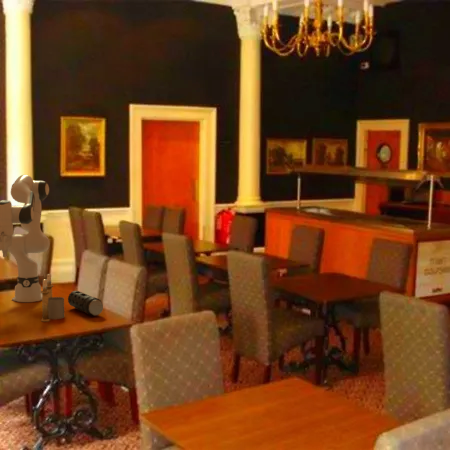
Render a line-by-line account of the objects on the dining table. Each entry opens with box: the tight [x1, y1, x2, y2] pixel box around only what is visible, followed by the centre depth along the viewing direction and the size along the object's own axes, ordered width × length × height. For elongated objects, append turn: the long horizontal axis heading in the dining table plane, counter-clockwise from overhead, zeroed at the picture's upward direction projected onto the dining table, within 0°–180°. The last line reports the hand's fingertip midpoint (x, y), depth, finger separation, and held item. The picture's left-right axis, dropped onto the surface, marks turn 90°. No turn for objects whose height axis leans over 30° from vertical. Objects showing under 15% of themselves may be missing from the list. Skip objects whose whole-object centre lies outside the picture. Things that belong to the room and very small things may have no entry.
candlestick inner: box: [46, 273, 54, 298], centre depth 376 cm, size 4×4×22 cm
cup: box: [48, 296, 65, 320], centre depth 369 cm, size 8×8×10 cm
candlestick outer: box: [40, 278, 51, 323], centre depth 360 cm, size 4×4×22 cm
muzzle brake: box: [67, 290, 104, 317], centre depth 380 cm, size 10×28×10 cm, turn 35°
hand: (5, 256), depth 373 cm, fingers closed
